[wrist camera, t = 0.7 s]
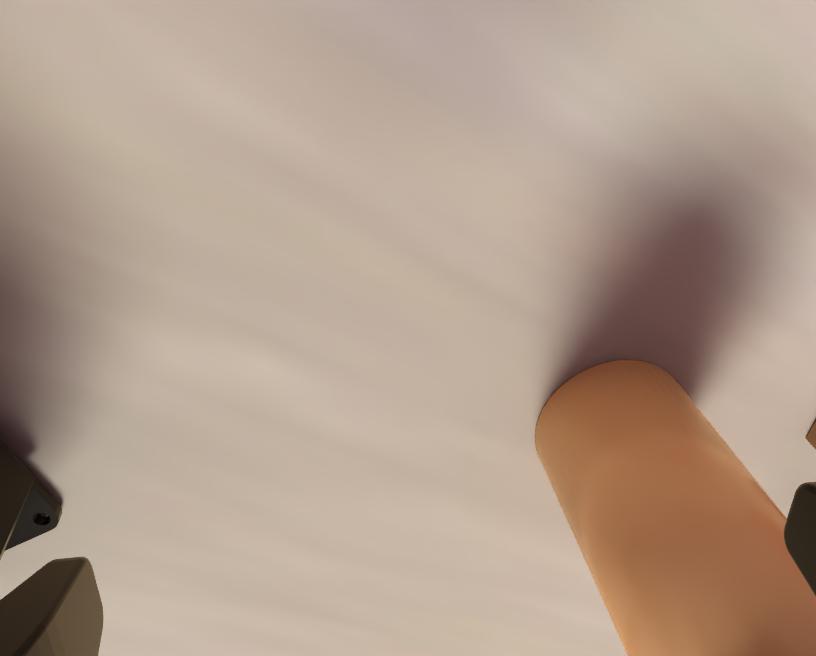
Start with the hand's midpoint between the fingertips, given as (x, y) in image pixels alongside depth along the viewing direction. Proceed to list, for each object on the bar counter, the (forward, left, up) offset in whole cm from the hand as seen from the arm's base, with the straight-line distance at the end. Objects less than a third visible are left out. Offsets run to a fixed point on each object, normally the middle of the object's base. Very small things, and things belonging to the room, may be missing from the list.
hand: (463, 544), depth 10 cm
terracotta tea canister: (+4, -11, -13) cm, 17 cm away
